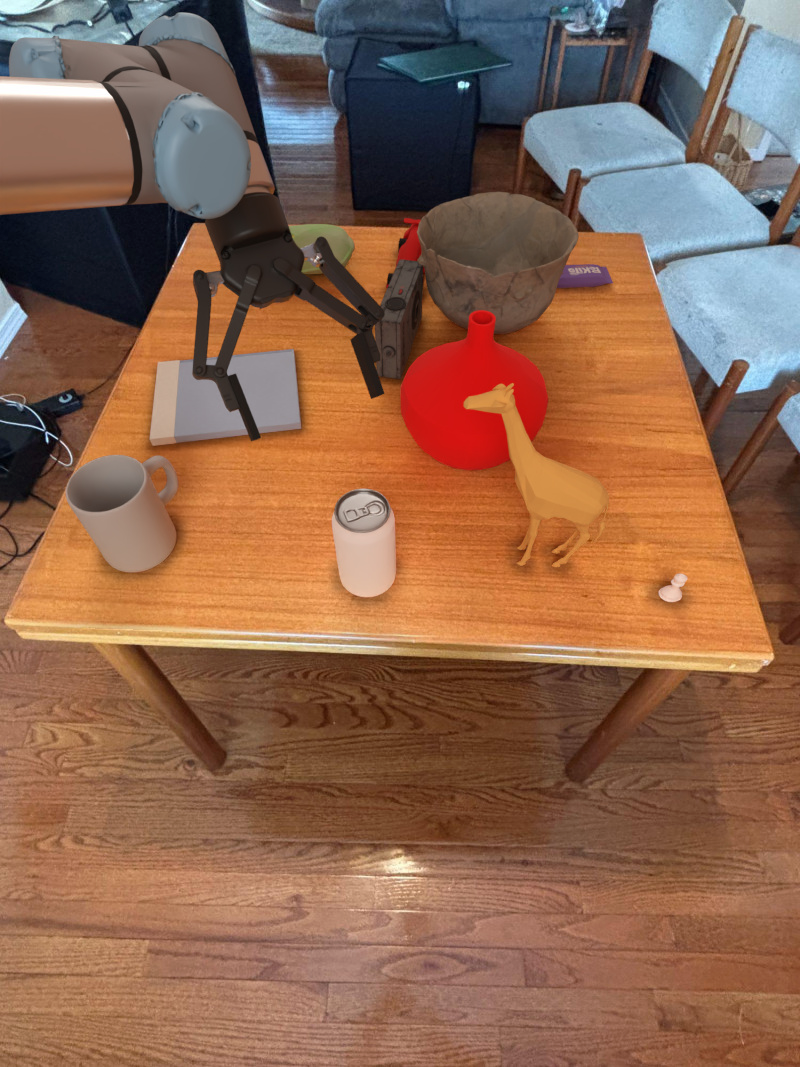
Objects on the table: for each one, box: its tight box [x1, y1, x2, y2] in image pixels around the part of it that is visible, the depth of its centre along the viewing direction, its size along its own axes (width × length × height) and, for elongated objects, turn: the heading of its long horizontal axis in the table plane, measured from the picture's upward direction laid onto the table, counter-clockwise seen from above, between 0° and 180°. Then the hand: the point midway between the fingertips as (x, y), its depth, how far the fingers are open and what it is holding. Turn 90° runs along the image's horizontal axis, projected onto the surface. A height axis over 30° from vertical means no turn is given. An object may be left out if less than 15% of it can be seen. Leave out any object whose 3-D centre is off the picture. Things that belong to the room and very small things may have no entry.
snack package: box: [557, 263, 614, 289], centre depth 107 cm, size 12×2×5 cm
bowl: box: [417, 191, 580, 335], centre depth 95 cm, size 22×22×15 cm
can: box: [331, 488, 397, 598], centre depth 68 cm, size 6×6×12 cm
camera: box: [374, 259, 424, 380], centre depth 93 cm, size 16×4×10 cm, turn 167°
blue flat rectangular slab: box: [149, 348, 302, 447], centre depth 90 cm, size 20×16×1 cm
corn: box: [288, 223, 356, 275], centre depth 107 cm, size 8×8×20 cm
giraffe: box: [463, 383, 610, 568], centre depth 64 cm, size 16×4×25 cm, turn 83°
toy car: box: [385, 217, 425, 289], centre depth 107 cm, size 6×18×5 cm, turn 170°
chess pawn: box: [658, 572, 689, 603], centre depth 69 cm, size 3×2×4 cm
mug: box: [65, 454, 180, 573], centre depth 72 cm, size 12×8×11 cm
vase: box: [399, 310, 549, 471], centre depth 78 cm, size 18×18×19 cm
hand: (318, 417), depth 65 cm, fingers open, 13 cm apart
